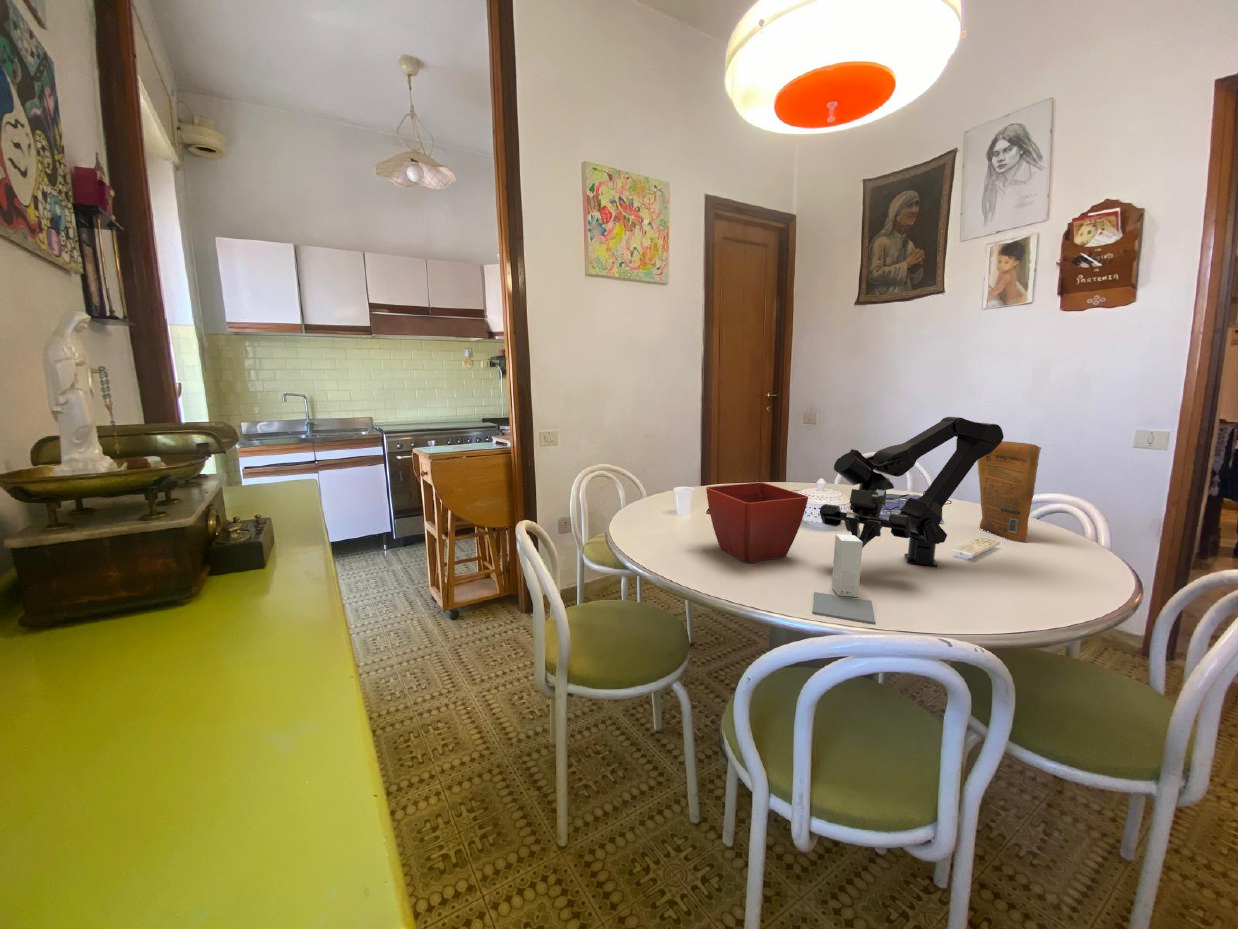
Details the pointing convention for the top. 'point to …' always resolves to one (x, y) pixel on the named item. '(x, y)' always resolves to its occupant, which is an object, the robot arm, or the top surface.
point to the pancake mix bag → (1008, 488)
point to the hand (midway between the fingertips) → (855, 551)
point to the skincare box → (847, 565)
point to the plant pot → (755, 519)
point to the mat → (843, 607)
